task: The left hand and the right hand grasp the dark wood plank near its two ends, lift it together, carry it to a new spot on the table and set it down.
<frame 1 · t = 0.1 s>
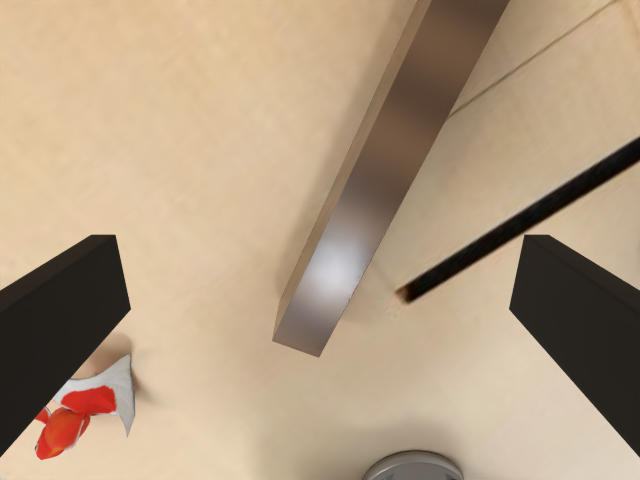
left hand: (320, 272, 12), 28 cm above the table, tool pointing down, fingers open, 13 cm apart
fish: (100, 381, 49), on the table
plank: (402, 96, 36), on the table
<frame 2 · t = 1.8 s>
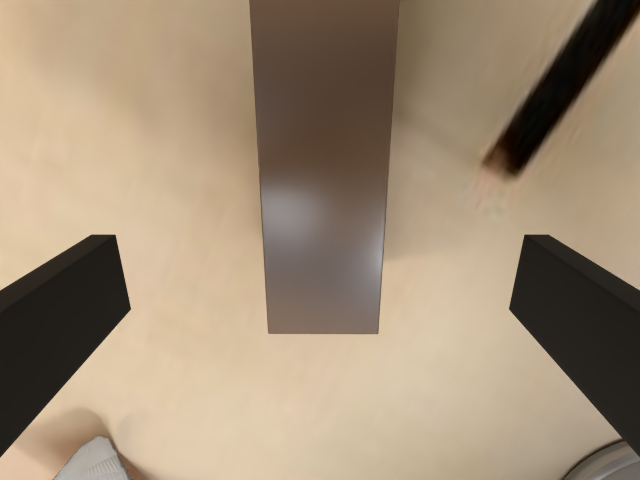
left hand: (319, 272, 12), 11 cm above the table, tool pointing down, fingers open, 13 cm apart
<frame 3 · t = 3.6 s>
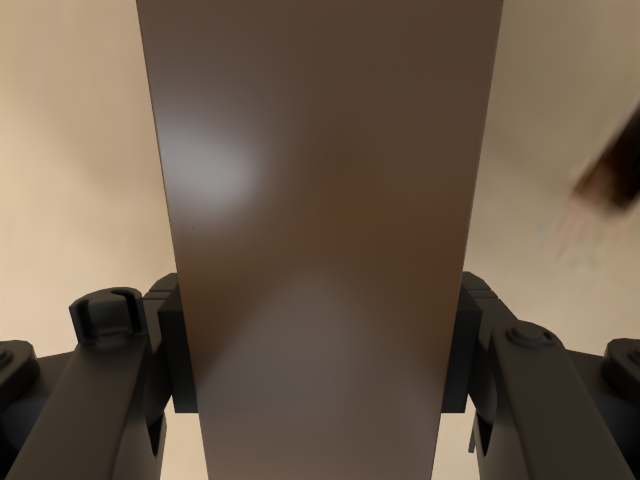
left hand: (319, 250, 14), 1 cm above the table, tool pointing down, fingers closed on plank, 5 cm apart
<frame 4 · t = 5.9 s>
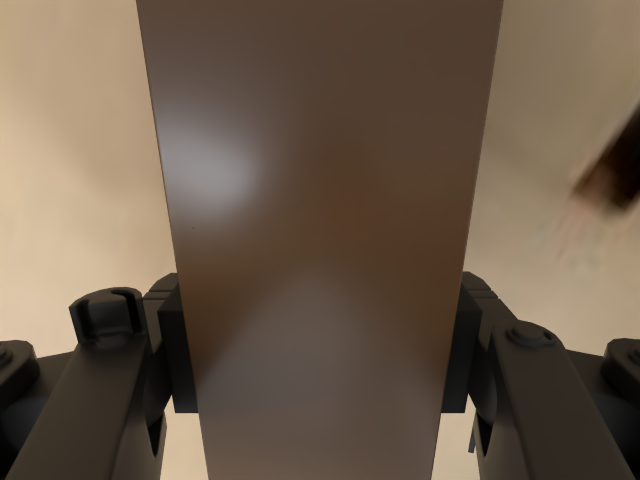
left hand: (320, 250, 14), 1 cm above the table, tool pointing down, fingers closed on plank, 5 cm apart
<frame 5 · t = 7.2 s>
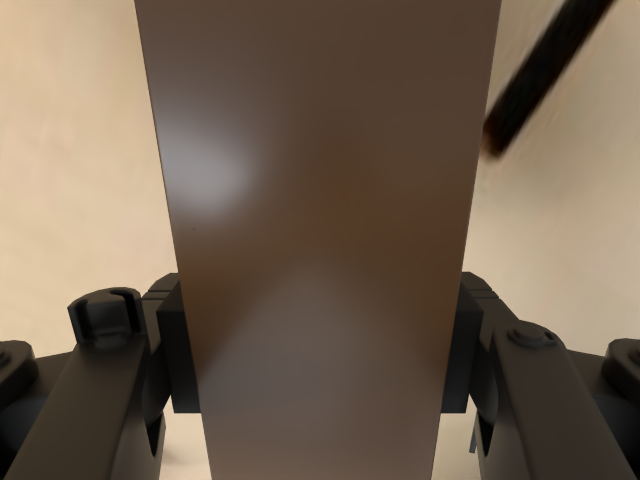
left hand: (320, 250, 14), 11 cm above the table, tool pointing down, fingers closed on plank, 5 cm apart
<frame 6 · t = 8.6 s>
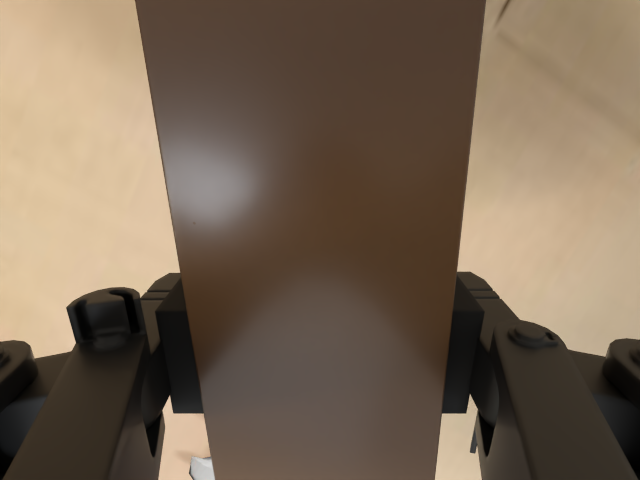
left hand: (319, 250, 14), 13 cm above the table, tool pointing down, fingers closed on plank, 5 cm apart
fish: (253, 443, 35), on the table
when the left hand's fingers open (2 cm above the table, at t = 11.3 s): plank drops 2 cm, on the table.
when the right hand's fingers open (2 cm above the table, at t = 11.3 s): plank drops 2 cm, on the table.
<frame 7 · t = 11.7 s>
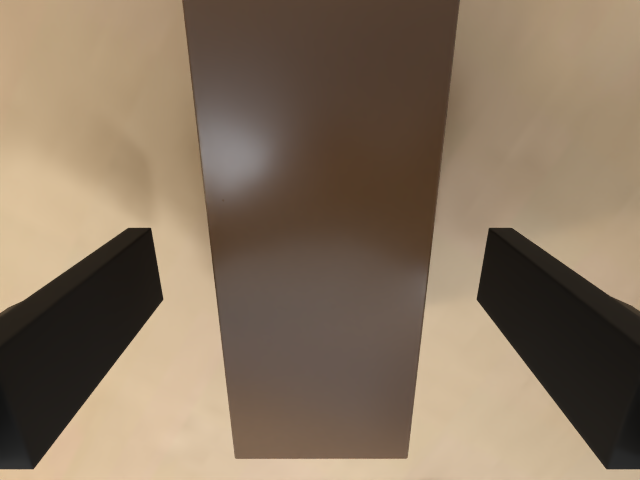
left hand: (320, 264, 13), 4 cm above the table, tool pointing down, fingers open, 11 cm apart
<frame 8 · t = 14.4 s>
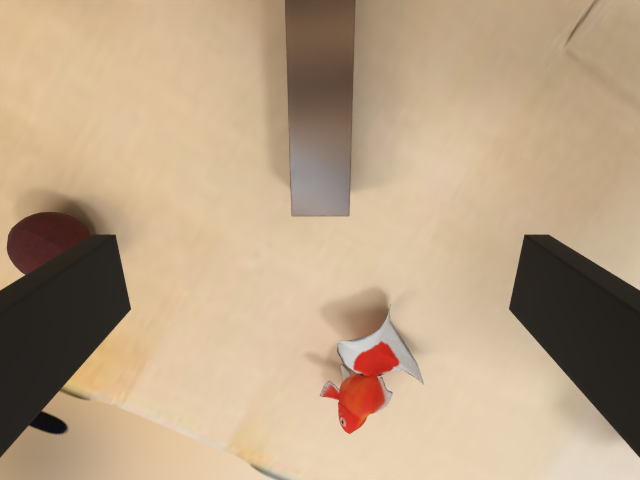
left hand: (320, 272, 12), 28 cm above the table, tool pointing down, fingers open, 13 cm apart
fish: (363, 346, 48), on the table
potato: (76, 236, 42), on the table
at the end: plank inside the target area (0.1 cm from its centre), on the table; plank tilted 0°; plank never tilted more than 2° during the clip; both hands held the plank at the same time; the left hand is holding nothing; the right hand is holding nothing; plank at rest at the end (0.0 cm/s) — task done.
